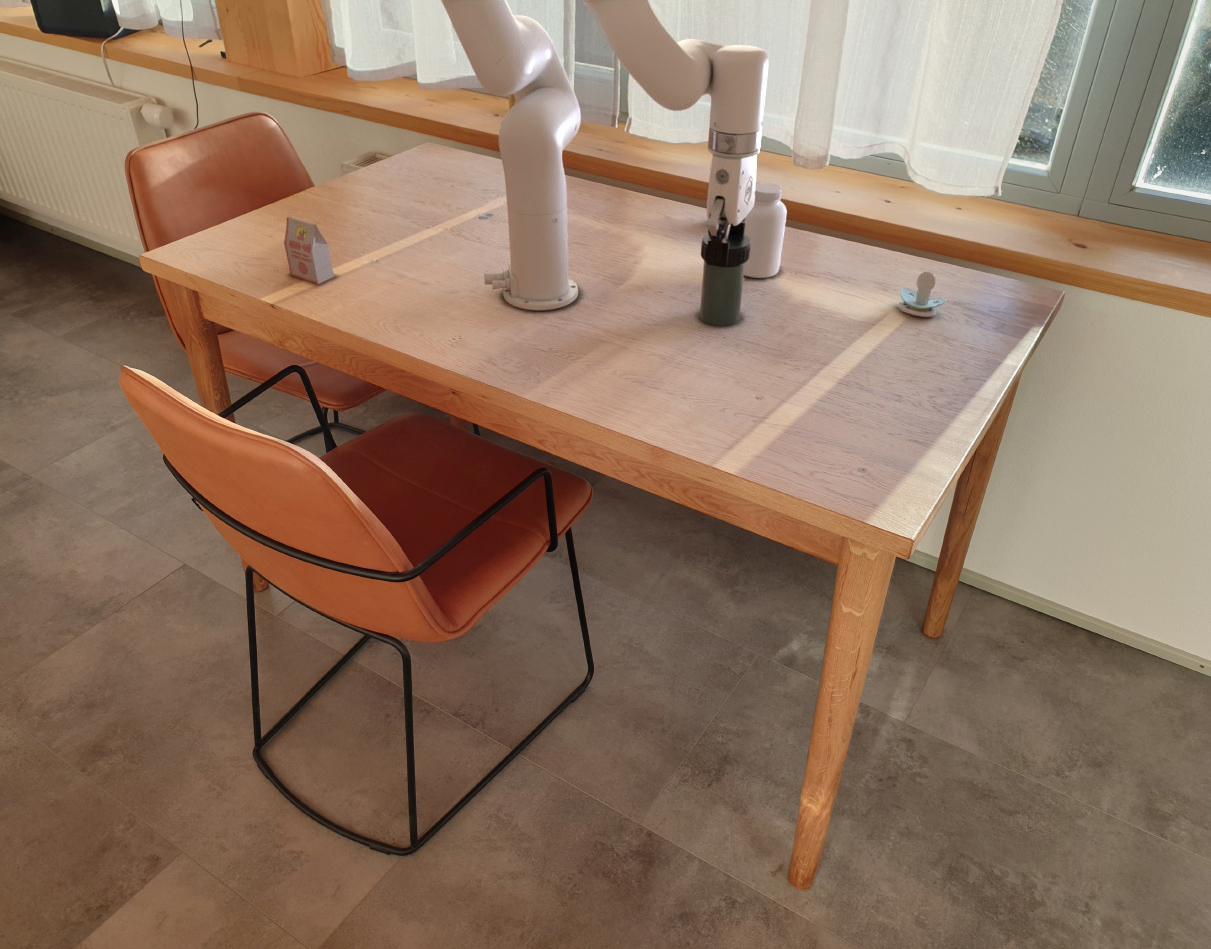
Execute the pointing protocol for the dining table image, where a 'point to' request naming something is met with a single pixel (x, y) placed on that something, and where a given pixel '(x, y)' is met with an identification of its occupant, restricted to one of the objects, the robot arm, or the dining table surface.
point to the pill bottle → (765, 231)
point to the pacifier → (920, 297)
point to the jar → (721, 294)
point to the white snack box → (307, 252)
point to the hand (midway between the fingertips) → (725, 255)
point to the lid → (731, 248)
